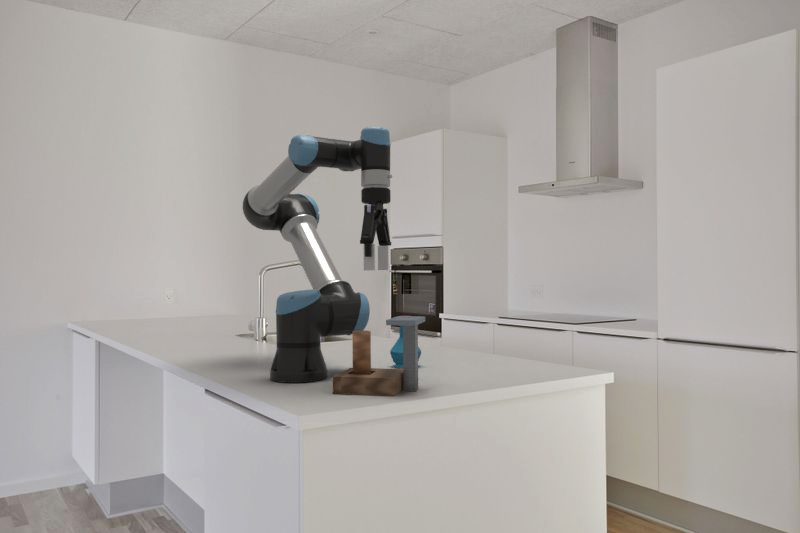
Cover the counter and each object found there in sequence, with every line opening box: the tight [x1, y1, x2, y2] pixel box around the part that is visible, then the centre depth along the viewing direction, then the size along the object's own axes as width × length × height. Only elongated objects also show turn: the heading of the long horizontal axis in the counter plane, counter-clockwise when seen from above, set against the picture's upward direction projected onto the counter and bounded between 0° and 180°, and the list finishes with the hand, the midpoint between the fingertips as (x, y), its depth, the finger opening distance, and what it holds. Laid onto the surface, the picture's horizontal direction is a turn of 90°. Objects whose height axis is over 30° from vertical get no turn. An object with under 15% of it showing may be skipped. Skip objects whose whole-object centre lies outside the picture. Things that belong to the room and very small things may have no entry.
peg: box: [351, 330, 372, 375], centre depth 162 cm, size 4×4×14 cm
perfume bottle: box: [389, 325, 422, 369], centre depth 198 cm, size 9×9×15 cm
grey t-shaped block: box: [385, 315, 426, 392], centre depth 161 cm, size 7×12×17 cm, turn 167°
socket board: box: [332, 367, 403, 397], centre depth 162 cm, size 15×14×4 cm
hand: (376, 270), depth 173 cm, fingers open, 13 cm apart
